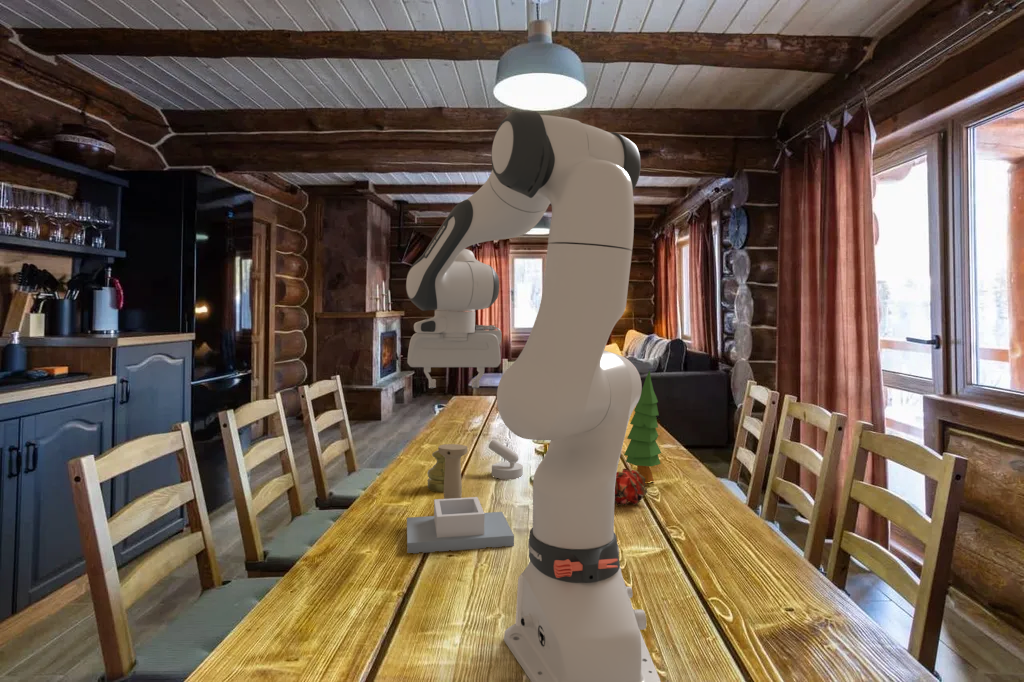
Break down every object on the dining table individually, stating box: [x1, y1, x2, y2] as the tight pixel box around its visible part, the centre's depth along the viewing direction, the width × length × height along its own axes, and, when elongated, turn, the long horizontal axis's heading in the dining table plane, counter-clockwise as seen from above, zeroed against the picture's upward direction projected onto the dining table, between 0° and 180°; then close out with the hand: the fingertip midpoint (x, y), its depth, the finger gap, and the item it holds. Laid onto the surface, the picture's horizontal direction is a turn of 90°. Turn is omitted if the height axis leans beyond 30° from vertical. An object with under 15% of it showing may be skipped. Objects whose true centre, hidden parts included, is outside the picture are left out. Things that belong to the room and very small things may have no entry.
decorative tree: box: [623, 370, 662, 482], centre depth 146 cm, size 10×9×30 cm
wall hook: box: [488, 438, 524, 480], centre depth 151 cm, size 9×10×10 cm
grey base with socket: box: [406, 496, 515, 554], centre depth 109 cm, size 13×20×6 cm, turn 101°
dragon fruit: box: [615, 468, 648, 506], centre depth 129 cm, size 8×8×12 cm
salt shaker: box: [427, 449, 445, 493], centre depth 139 cm, size 7×7×10 cm
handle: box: [437, 443, 469, 499], centre depth 121 cm, size 5×6×15 cm
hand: (454, 387), depth 120 cm, fingers open, 8 cm apart
